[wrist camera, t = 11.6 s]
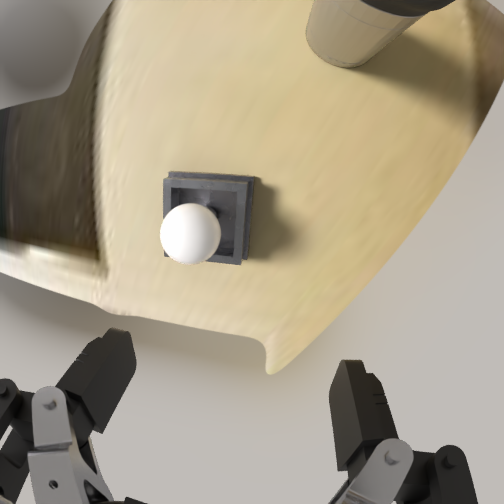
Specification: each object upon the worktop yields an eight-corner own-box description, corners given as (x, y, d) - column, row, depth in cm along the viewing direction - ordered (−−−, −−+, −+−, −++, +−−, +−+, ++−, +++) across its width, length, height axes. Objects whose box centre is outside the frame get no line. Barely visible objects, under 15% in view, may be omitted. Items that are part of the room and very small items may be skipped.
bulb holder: (171, 171, 35) (159, 174, 31) (254, 176, 35) (251, 180, 31) (171, 248, 39) (161, 259, 35) (247, 256, 39) (244, 269, 35)
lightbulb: (228, 242, 37) (209, 281, 27) (182, 234, 37) (149, 267, 27) (235, 195, 35) (218, 217, 24) (187, 187, 35) (151, 206, 25)
